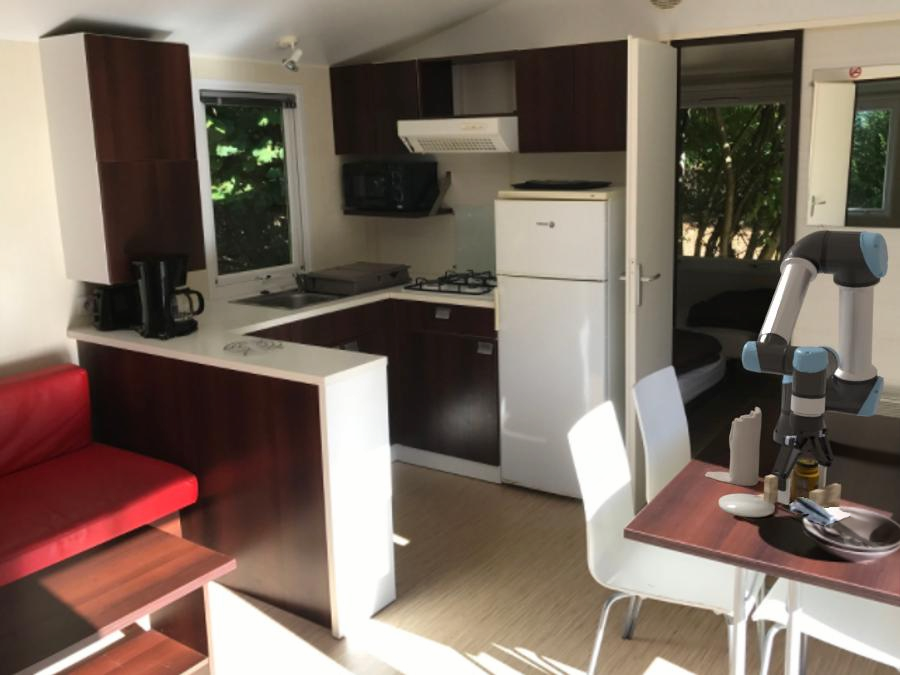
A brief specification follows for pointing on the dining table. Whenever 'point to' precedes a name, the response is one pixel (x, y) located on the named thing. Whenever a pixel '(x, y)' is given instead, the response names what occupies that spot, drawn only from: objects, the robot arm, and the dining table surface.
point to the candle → (743, 451)
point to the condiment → (803, 480)
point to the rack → (821, 496)
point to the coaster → (746, 505)
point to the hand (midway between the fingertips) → (801, 497)
